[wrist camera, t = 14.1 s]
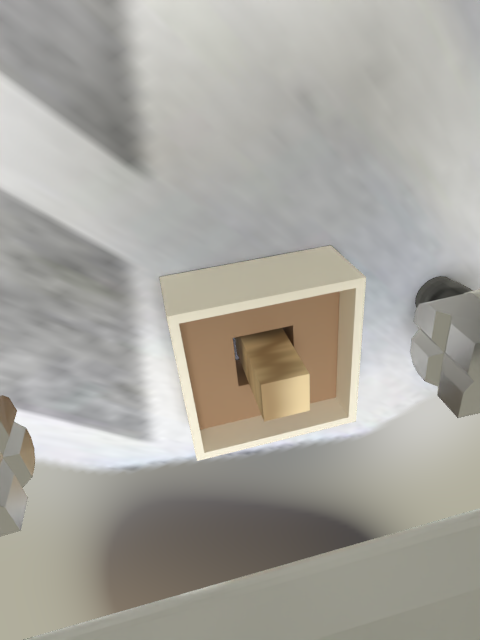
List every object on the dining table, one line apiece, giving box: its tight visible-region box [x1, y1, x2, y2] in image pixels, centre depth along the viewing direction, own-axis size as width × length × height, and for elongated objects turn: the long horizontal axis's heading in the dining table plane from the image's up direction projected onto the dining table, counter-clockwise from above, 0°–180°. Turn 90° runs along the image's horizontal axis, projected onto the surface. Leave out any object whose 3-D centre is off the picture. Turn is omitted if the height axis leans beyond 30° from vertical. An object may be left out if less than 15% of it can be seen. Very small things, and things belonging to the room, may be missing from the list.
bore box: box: [159, 245, 366, 461], centre depth 41 cm, size 16×16×7 cm
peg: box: [235, 328, 310, 422], centre depth 40 cm, size 4×4×10 cm
